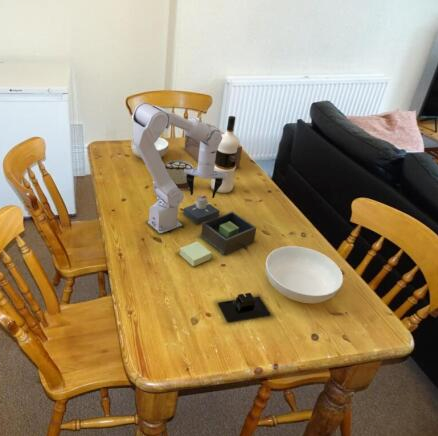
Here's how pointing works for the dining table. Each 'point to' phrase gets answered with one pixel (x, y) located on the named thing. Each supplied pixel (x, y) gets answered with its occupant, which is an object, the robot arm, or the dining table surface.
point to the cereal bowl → (160, 146)
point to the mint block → (195, 253)
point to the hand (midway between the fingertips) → (202, 195)
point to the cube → (228, 229)
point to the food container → (178, 172)
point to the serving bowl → (303, 274)
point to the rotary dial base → (201, 213)
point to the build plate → (243, 308)
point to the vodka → (227, 157)
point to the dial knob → (201, 202)
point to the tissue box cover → (194, 146)
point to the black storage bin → (232, 243)
